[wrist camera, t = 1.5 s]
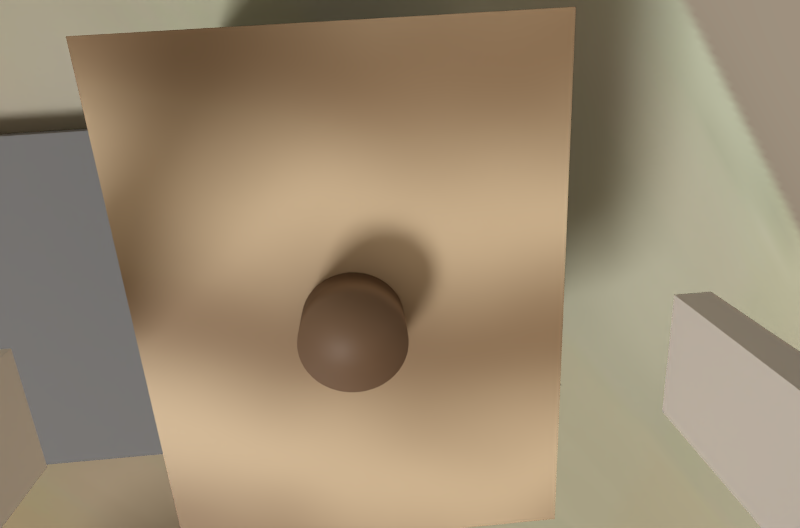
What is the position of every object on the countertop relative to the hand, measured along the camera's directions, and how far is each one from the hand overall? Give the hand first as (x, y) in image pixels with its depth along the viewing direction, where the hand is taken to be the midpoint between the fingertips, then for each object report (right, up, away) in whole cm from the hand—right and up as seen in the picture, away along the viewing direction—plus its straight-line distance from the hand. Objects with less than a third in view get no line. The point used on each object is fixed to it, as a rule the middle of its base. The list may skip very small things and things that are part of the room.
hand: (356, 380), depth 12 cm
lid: (0, +1, +3) cm, 3 cm away
